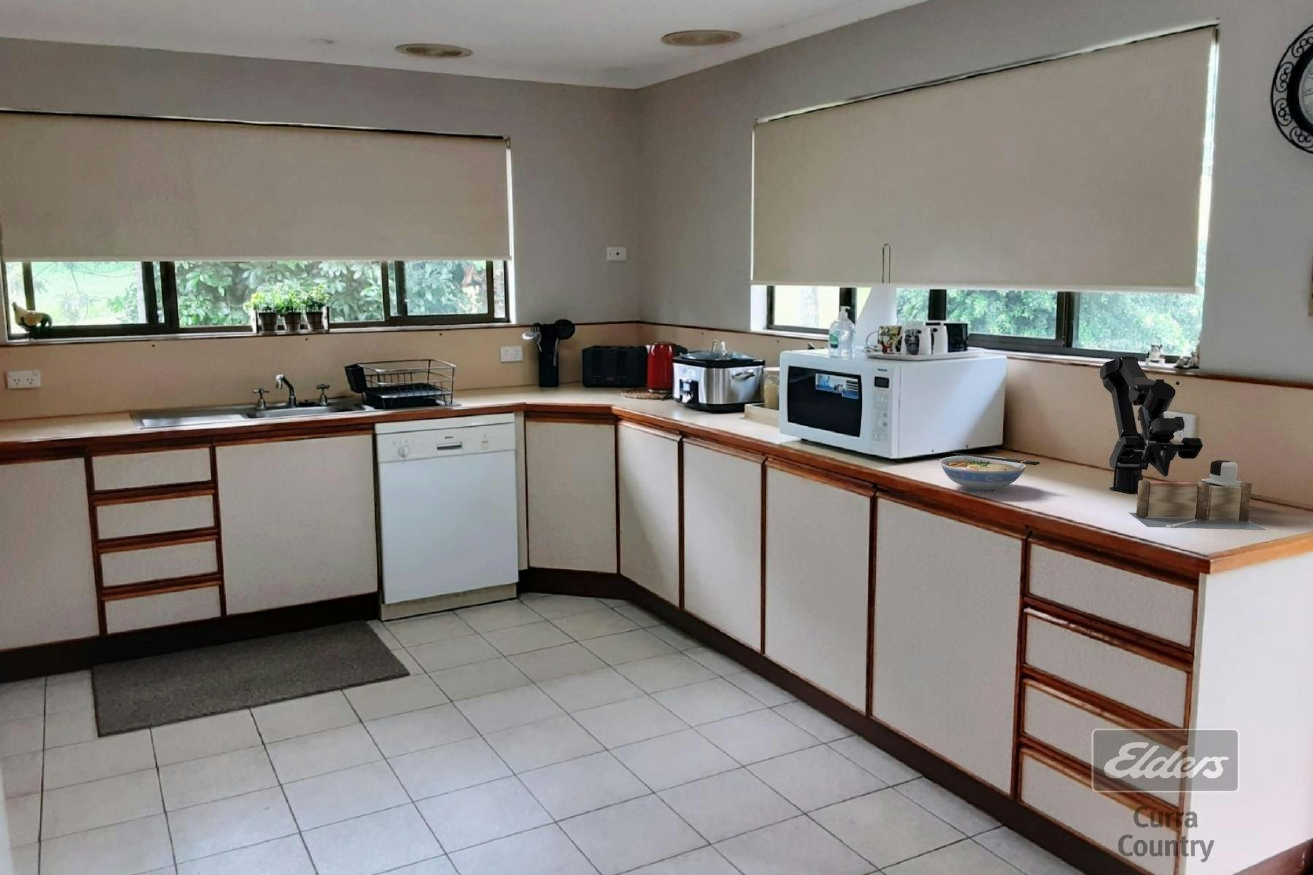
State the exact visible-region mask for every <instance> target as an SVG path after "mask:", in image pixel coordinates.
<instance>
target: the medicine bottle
mask: <svg viewBox="0 0 1313 875" xmlns="http://www.w3.org/2000/svg"><path fill="white" fill-rule="evenodd" d="M1209 467H1210V468H1209V469H1210V470H1209V477H1207V478H1202V479H1200V481H1204V482H1209V489H1210V486H1231V487H1240V483H1241V482H1243V481H1242V480H1237V479H1238V471H1239V470H1238V469H1239V465H1238V463H1236V462H1234V461H1232V460H1224V459H1223V460H1221V459H1217V460H1213V461H1211V462H1210V466H1209ZM1208 501H1209V494H1208ZM1207 508H1208V505H1207Z"/></svg>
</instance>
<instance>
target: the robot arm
mask: <svg viewBox="0 0 1313 875" xmlns="http://www.w3.org/2000/svg"><path fill="white" fill-rule="evenodd" d="M1099 378H1100V379H1101V381H1102V385H1103V387H1104V388H1105V390H1106V391H1108V392H1109V393H1110V394H1111V399H1112V404H1113V410H1114V416H1115V421H1116V422H1115V423H1116V427H1117V428H1116V429H1117V432H1118V433H1117V434H1118V439H1117V441H1116V443H1115V445H1114V448H1113V450H1112V453H1111V454H1110V457H1109V459H1108V460H1109V467H1110V468H1112V469H1113V470H1114V471H1113V482H1112V486H1110V487H1109V488H1108V489H1109V490H1112V491H1117V492H1120V493H1122V492H1123V493H1127V494H1134V493H1135V494H1136V493H1138V484H1139V480H1144V475H1143V470H1145V471H1147V470H1148V469H1149V465H1151V466H1152V467H1153V468H1154V469H1156V471H1158V473H1159V474H1160V475H1161V476H1162V477H1167V476H1168V475H1169V470H1170V467H1171V466H1170V465H1171V461H1173V460H1174V459H1175V457H1176V455H1178V457H1179V458H1180V459H1183V460H1185V459H1187V460H1194V459H1197V457H1198V456H1199V455H1200V452H1201V450H1202V448H1203V447H1204V444H1203V442H1202V439H1201V438H1199V437H1184V436H1183V437H1182V439H1181V441H1180V442H1172V441H1171V440H1174V438H1175V434H1174V433H1177V432H1178V431H1182V430H1184V429H1185V420H1184V417H1183V416H1174V417H1165V415H1164V414H1165V412H1167V411H1168V410H1169V408H1170V406H1171V404H1172V402H1173V400H1174V398H1175V396H1176V393H1177V392H1176V391H1177V390H1176V389H1175V388H1174V386H1172V385H1171V384H1170V383H1168V382H1166V381H1165V379H1163V378H1162V379H1161V378H1160V379H1159V378H1158V379H1157V378H1155V380H1153V379H1150V378H1148V376H1147V374H1146V372H1145V371H1144V370H1143V368H1142V367H1141V365H1140V363H1139V359H1138V356H1134V355H1118V356H1117V357H1115V359H1111V360H1109V361H1106V362H1104V363H1103V365H1101V367H1100V370H1099ZM1133 406H1140V407H1139V408H1138V410H1137V414H1138V415H1137V421H1139V423H1140V427H1141V433H1139V432H1138V427H1137V422H1136V418H1135V412H1134V407H1133Z"/></svg>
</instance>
